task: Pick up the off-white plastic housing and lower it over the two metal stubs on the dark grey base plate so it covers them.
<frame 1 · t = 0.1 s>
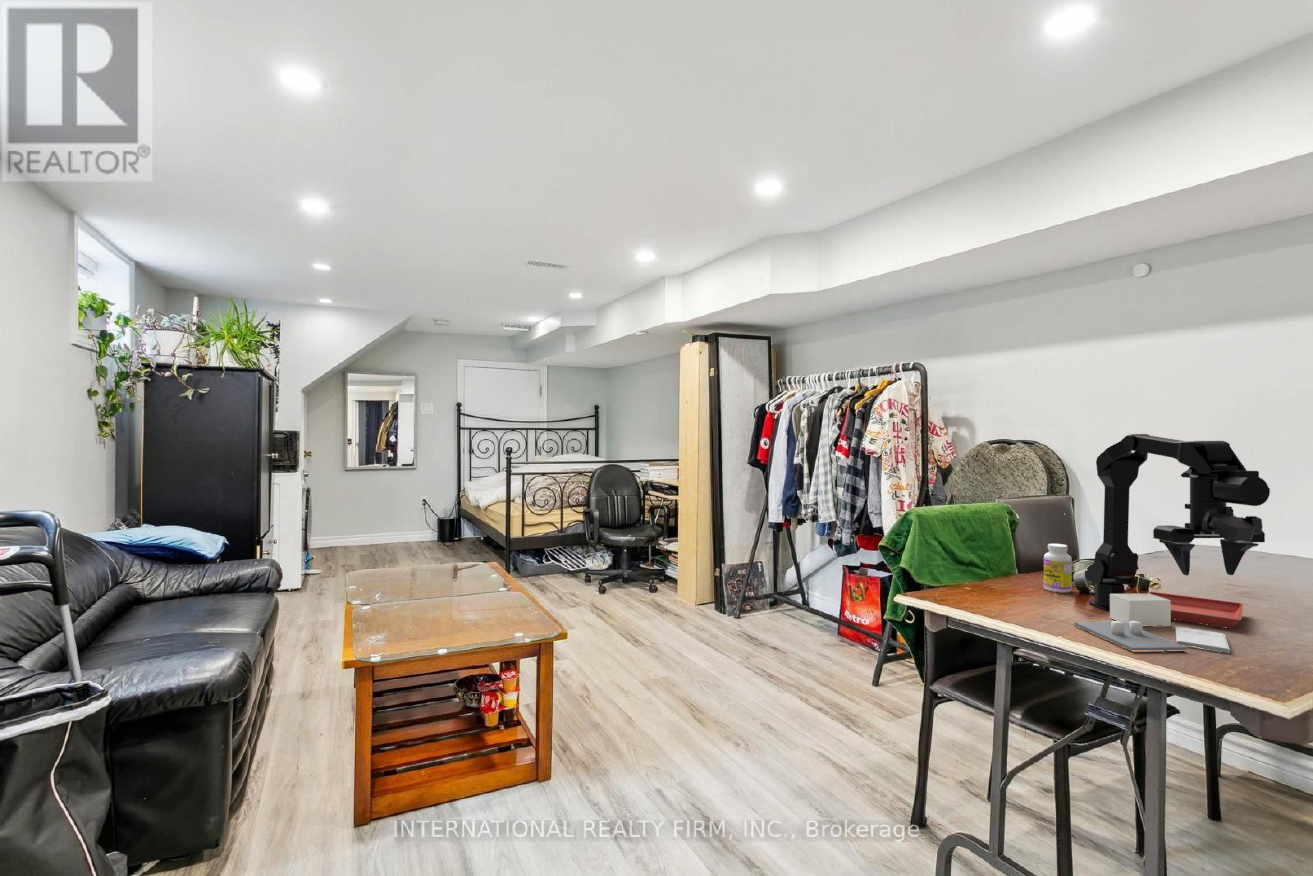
hand: (1207, 575, 129), 15 cm above the table, tool pointing down, fingers open, 9 cm apart
plant saucer: (1191, 618, 149), on the table
supplement bottle: (1057, 591, 174), on the table
housing: (1139, 622, 144), on the table
external hard drive: (1201, 645, 131), on the table
base plate: (1126, 638, 133), on the table
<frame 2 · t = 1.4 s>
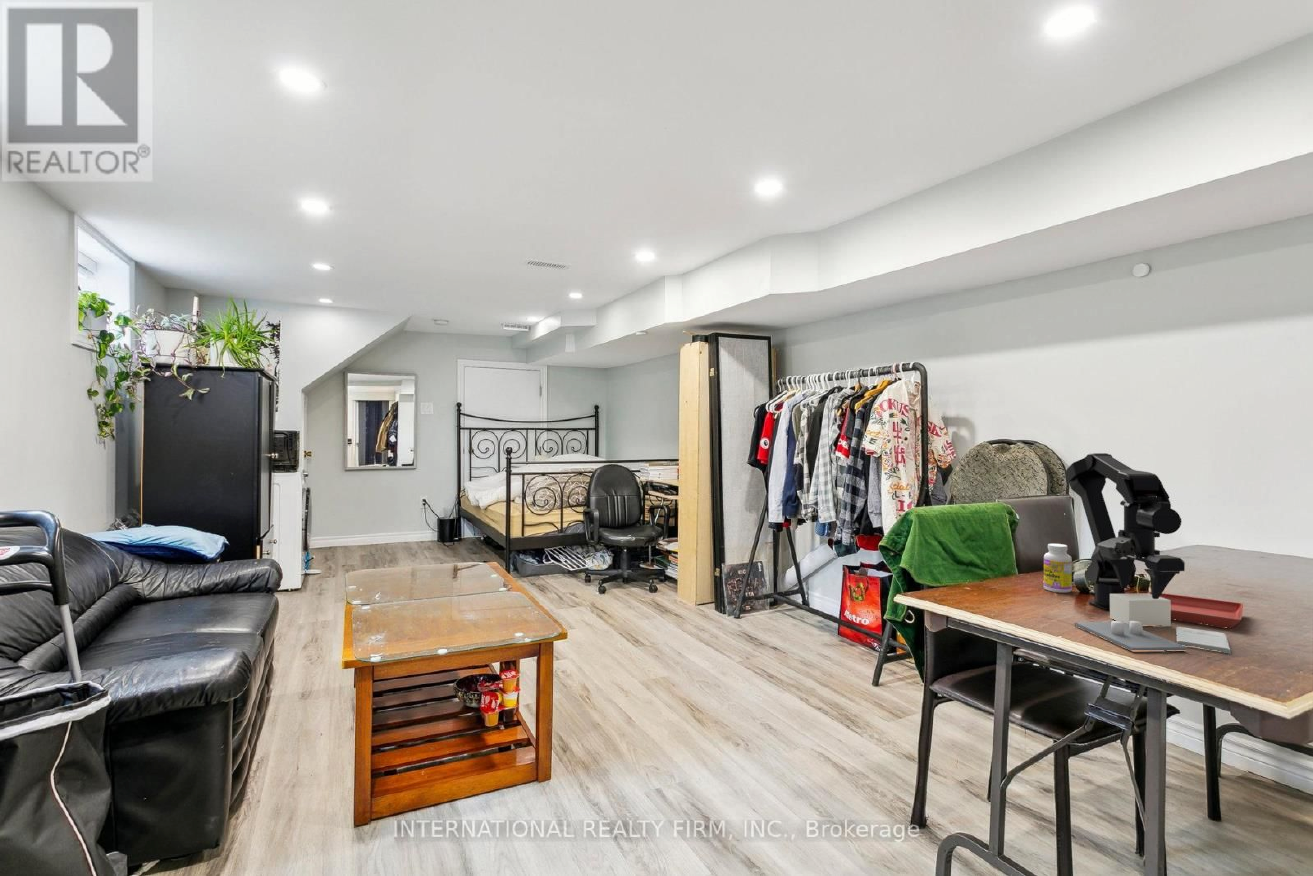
hand: (1139, 593, 144), 7 cm above the table, tool pointing down, fingers open, 9 cm apart
nothing on the table moved.
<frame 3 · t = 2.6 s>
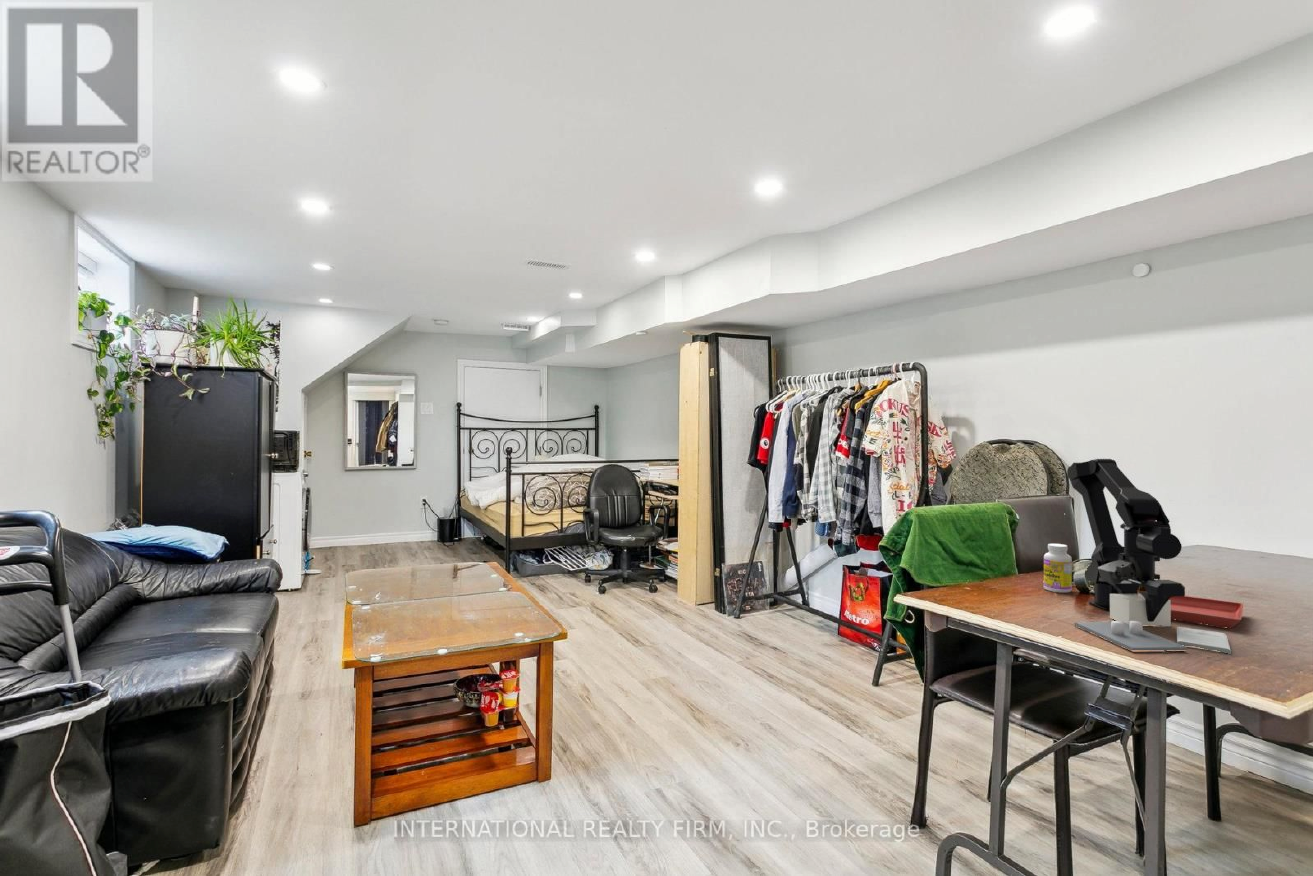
hand: (1139, 617, 144), 1 cm above the table, tool pointing down, fingers closed on housing, 6 cm apart
housing: (1139, 622, 144), on the table, touching gripper
everything else where it was.
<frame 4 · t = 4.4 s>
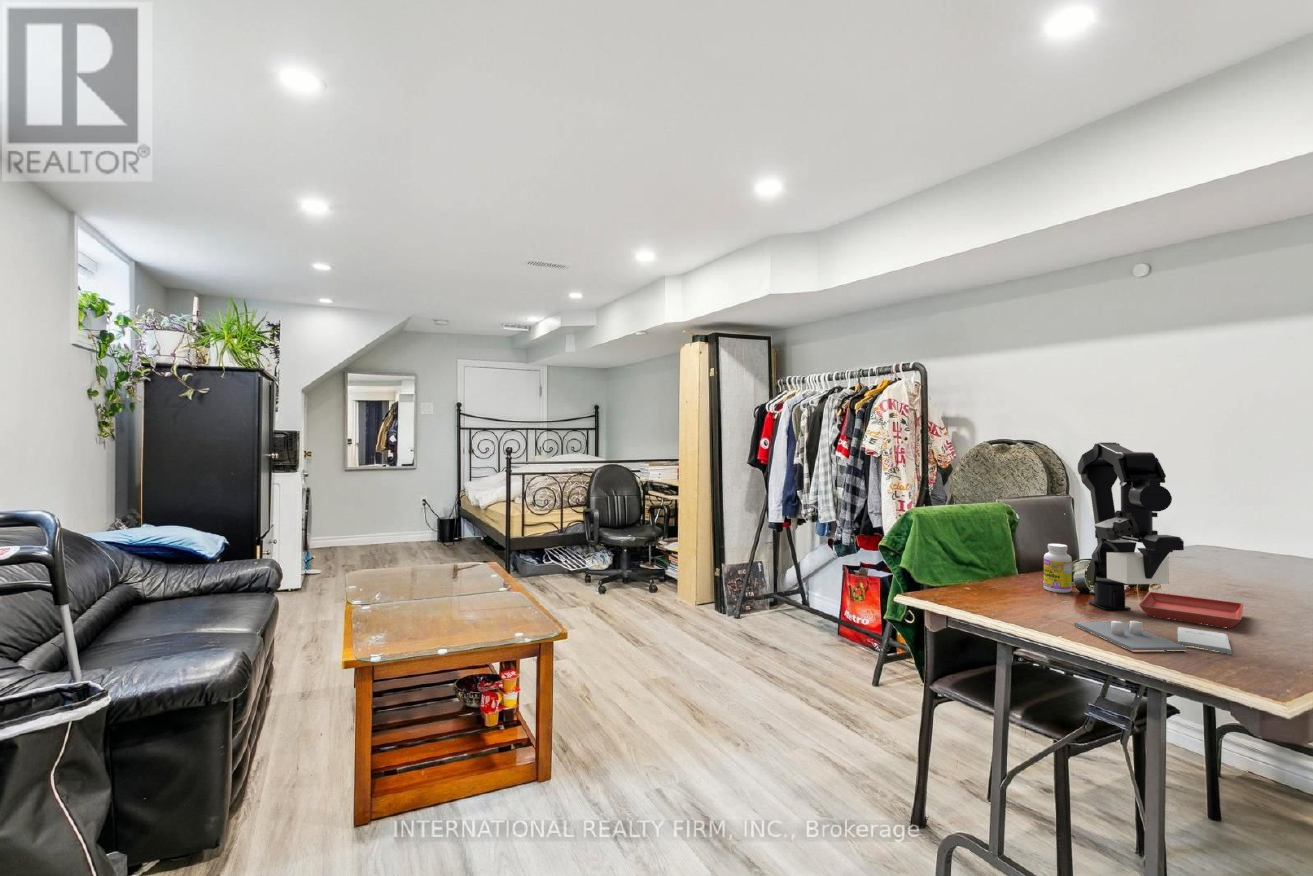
hand: (1137, 575, 140), 12 cm above the table, tool pointing down, fingers closed on housing, 6 cm apart
housing: (1137, 581, 140), point 11 cm above the table, touching gripper
everything else where it was.
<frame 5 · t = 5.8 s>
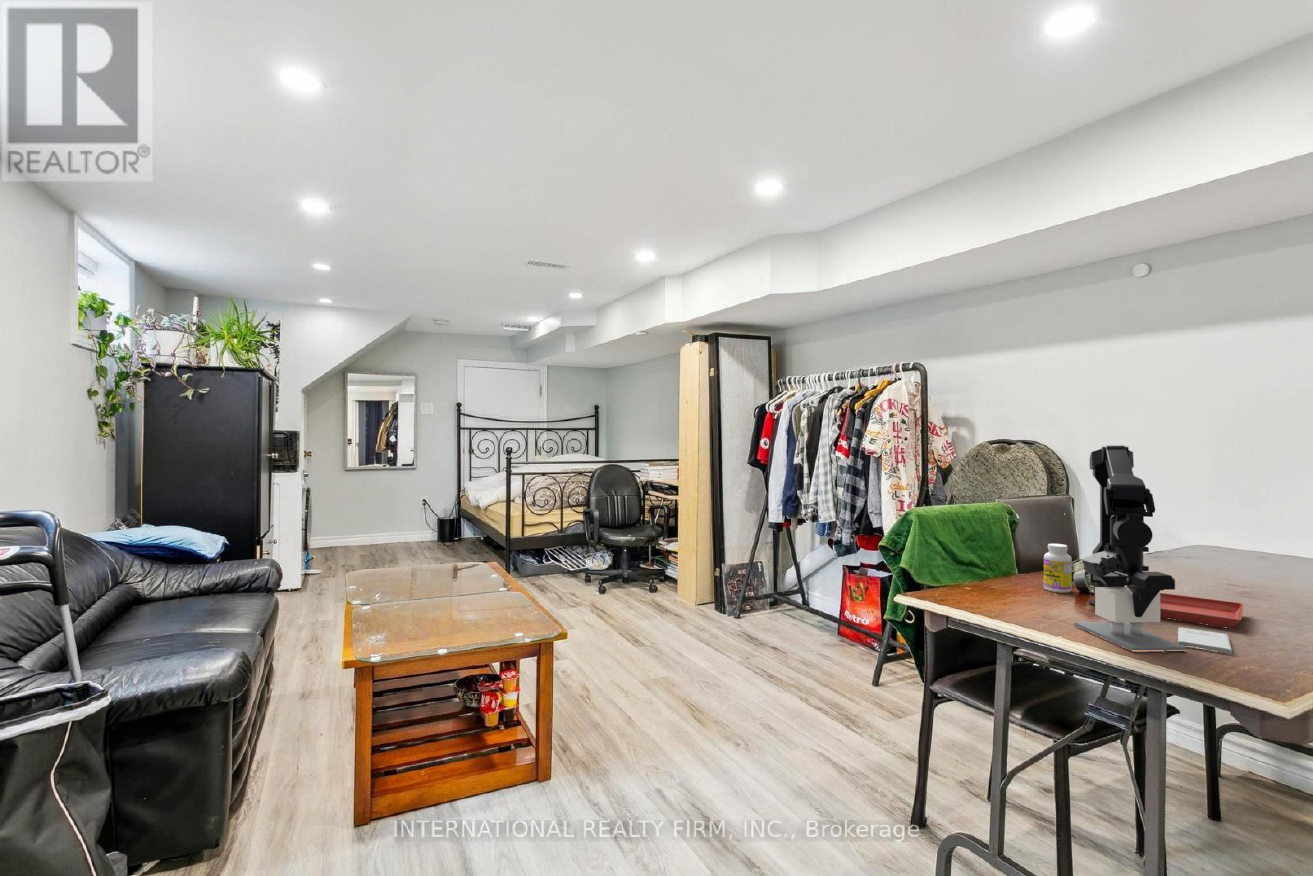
hand: (1126, 612, 133), 6 cm above the table, tool pointing down, fingers closed on housing, 6 cm apart
housing: (1126, 618, 133), point 4 cm above the table, touching gripper
everything else where it was.
when the fingers open (4 cm above the table, at t = 6.6 s): housing drops 1 cm, resting on base plate.
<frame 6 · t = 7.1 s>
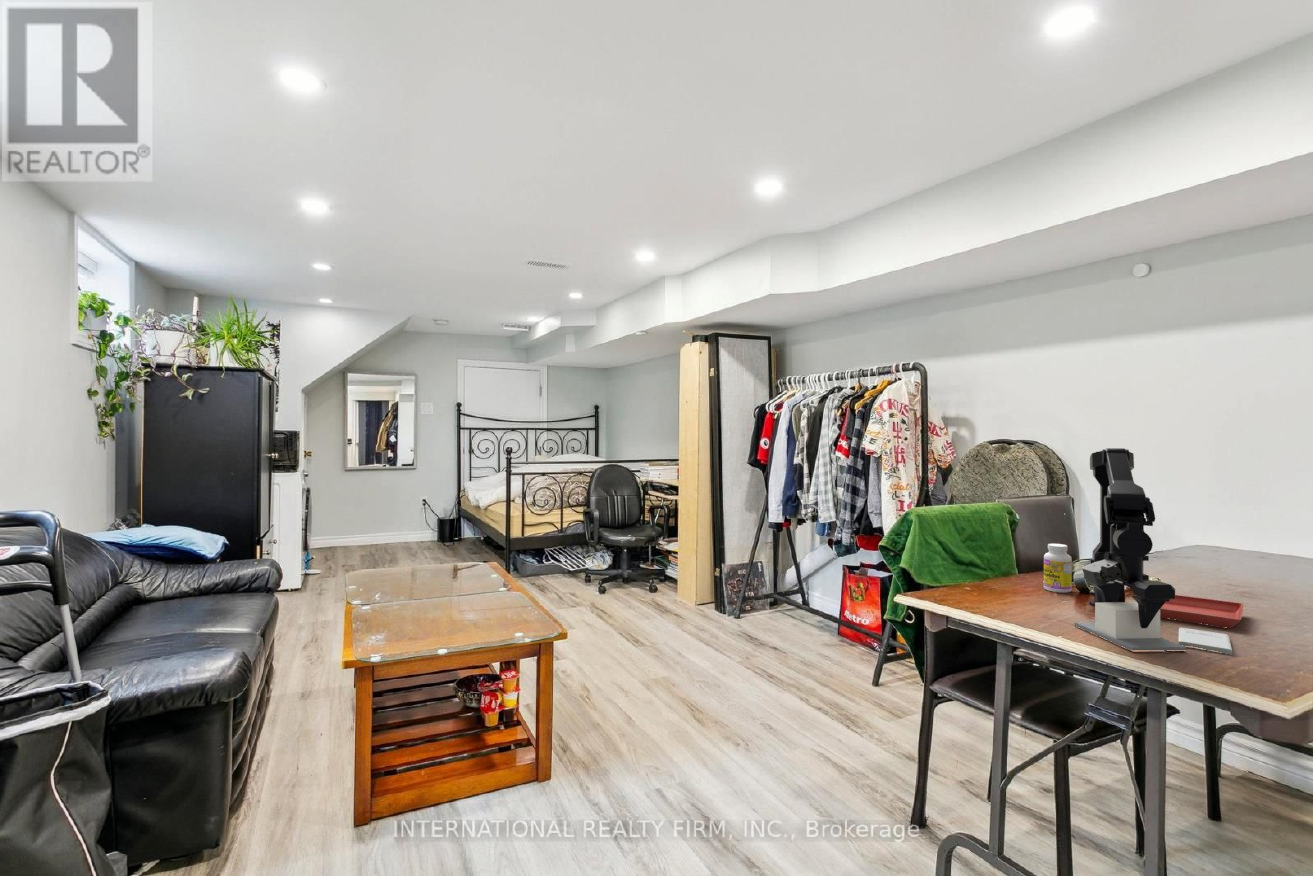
hand: (1126, 621, 133), 4 cm above the table, tool pointing down, fingers open, 9 cm apart
housing: (1127, 633, 133), point 1 cm above the table, touching base plate
everything else where it was.
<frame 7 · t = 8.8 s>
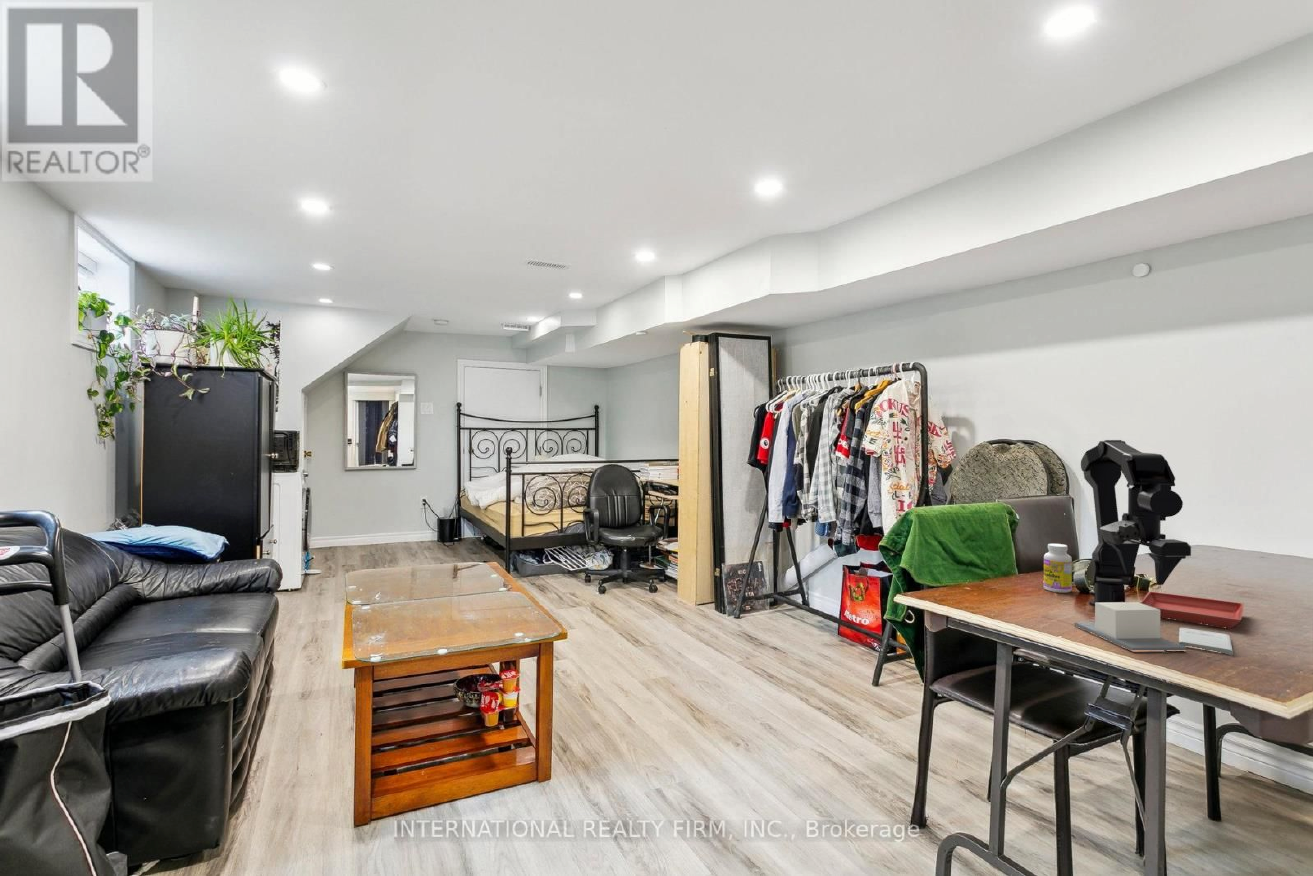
hand: (1143, 579, 138), 12 cm above the table, tool pointing down, fingers open, 9 cm apart
nothing on the table moved.
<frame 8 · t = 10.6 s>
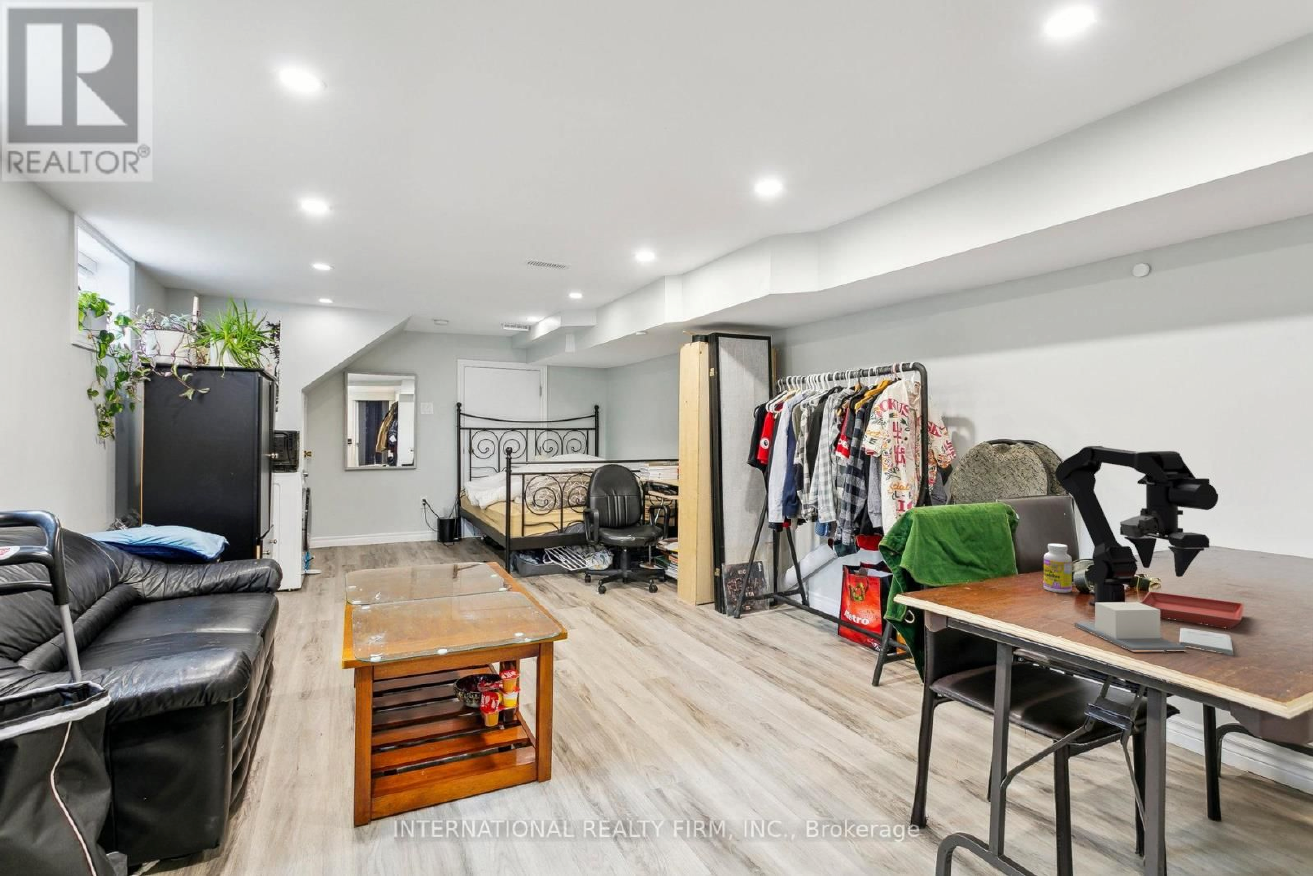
hand: (1162, 572, 143), 12 cm above the table, tool pointing down, fingers open, 9 cm apart
nothing on the table moved.
at the end: housing 0.1 cm off-centre on the base plate, point 1.0 cm above the base plate's base; housing tilted 0°; the gripper is holding nothing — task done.
